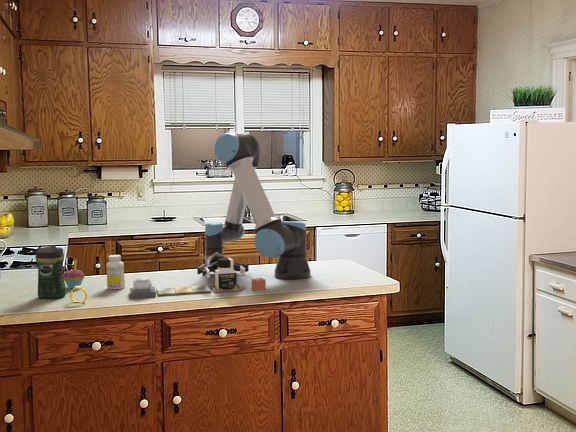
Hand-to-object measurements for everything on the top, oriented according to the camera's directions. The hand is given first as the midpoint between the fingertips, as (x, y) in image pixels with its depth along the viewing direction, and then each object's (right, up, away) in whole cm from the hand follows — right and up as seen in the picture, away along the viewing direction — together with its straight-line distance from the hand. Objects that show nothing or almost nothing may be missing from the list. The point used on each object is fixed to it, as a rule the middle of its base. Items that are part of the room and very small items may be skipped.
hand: (226, 273), depth 253 cm
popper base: (-31, -8, -6) cm, 32 cm away
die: (+12, -6, +2) cm, 14 cm away
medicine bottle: (0, -7, +3) cm, 7 cm away
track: (-16, -7, -1) cm, 18 cm away
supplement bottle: (-44, -7, +6) cm, 45 cm away
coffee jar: (-64, -8, -8) cm, 65 cm away
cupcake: (-61, -6, +8) cm, 62 cm away
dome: (-31, -5, -6) cm, 32 cm away
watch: (-51, -9, -16) cm, 54 cm away
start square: (0, -6, +3) cm, 7 cm away
